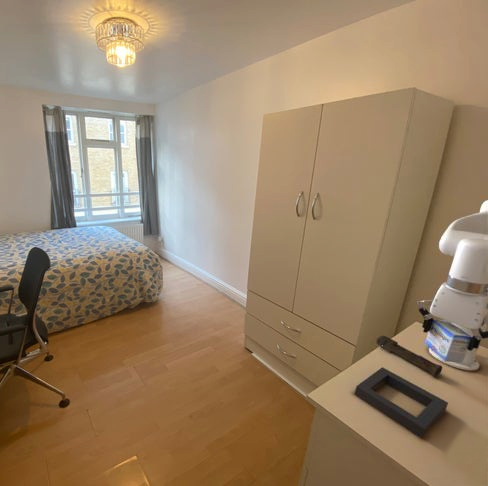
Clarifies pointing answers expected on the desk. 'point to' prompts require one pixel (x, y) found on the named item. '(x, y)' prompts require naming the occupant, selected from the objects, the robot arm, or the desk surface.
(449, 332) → the medicine box
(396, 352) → the hand tool
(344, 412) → the desk surface
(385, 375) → the holder
